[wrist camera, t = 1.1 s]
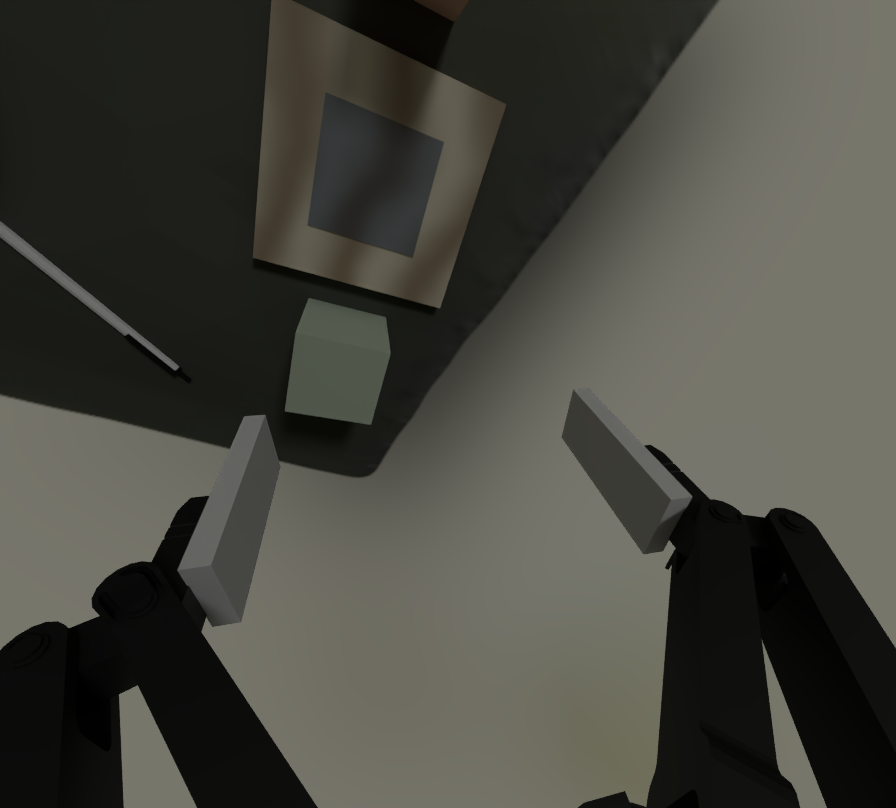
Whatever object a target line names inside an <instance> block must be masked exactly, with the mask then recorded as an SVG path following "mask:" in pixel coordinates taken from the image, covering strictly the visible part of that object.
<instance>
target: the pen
mask: <svg viewBox="0 0 896 808" xmlns="http://www.w3.org/2000/svg"><path fill="white" fill-rule="evenodd" d="M0 238H2V239H3V240H4V241H5V242H7V243H8V244H9V245H10V246H12V247H13V248H14V249H15V250H17V251H18V252H19V253H20V254H22V255H23V256H24V257H26V258H27V259H28V260H29V261H31V262H32V263H33V264H34V265H36V266H37V267H38V268H39V269H41V270H42V271H43V272H44V273H46V274H47V275H48V276H50V277H51V278H52V279H53V280H55V281H56V282H57V283H58V284H60V285H61V286H62V287H63V288H65V289H66V290H67V291H69V292H70V293H71V294H72V295H74V296H75V297H76V298H77V299H79V300H80V301H81V302H82V303H84V304H85V305H86V306H87V307H89V308H90V309H91V310H93V311H94V312H95V313H96V314H98V315H99V316H100V317H101V318H103V319H104V320H105V321H106V322H108V323H109V324H110V325H112V326H113V327H114V328H115V329H117V330H118V331H119V332H120V333H122V334H123V335H124V337H125V338H126V339H127V340H129V341H130V342H131V343H133V344H134V345H135V346H136V347H138V348H139V349H140V350H141V351H143V352H144V353H145V354H147V355H148V356H149V357H150V358H152V359H153V360H154V361H155V362H157V363H158V364H159V365H161V366H162V367H163V368H164V369H166V370H167V371H168V372H169V373H171V374H172V375H175V374H176V373H177V374H178V375H179V376H181V377H182V378H183V379H184V380H186V381H187V382H189V381H191V379H190V378H189V377H188V376H186V375H185V374H184V373H183V372H182V371H180V370H181V367H179V366H178V365H177V364H176V363H174V362H173V361H172V360H171V359H169V358H168V357H167V356H166V355H165V354H163V353H162V352H161V351H160V350H158V349H157V348H156V347H155V346H153V345H152V344H151V343H150V342H149V341H147V340H146V339H145V338H144V337H142V336H141V335H140V334H139V333H137V332H136V331H135V330H134V329H133V328H131V327H130V326H129V325H128V324H126V323H125V322H124V321H123V320H121V319H120V318H119V317H118V316H117V315H115V314H114V313H113V312H112V311H110V310H109V309H108V308H107V307H105V306H104V305H103V304H102V303H101V302H99V301H98V300H97V299H96V298H94V297H93V296H92V295H91V294H89V293H88V292H87V291H86V290H85V289H83V288H82V287H81V286H80V285H78V284H77V283H76V282H75V281H73V280H72V279H71V278H70V277H69V276H67V275H66V274H65V273H64V272H62V271H61V270H60V269H59V268H57V267H56V266H55V265H54V264H53V263H51V262H50V261H49V260H48V259H46V258H45V257H44V256H43V255H41V254H40V253H39V252H38V251H36V250H35V249H34V248H33V247H32V246H30V245H29V244H28V243H27V242H25V241H24V240H23V239H22V238H20V237H19V236H18V235H17V234H16V233H14V232H13V231H12V230H11V229H9V228H8V227H7V226H6V225H4V224H3V223H2V222H1V221H0Z"/></svg>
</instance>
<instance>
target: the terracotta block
mask: <svg viewBox="0 0 896 808" xmlns="http://www.w3.org/2000/svg"><path fill="white" fill-rule="evenodd" d="M414 1H416V2H418V3H419V4H421V5H423V6H425V7H427V8H429V9H431V10H432V11H434V12H436V13H438V14H440V15H442V16H444V17H445V18H447V19H449V20H451V21H453V22H454V21H455V20H456V18H457V17H458V15H459V14H460V13H461V11H462V10H463V8H464V7H465V5H466V4H467V2H468V1H469V0H414Z"/></svg>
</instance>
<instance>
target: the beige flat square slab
mask: <svg viewBox="0 0 896 808" xmlns="http://www.w3.org/2000/svg"><path fill="white" fill-rule="evenodd" d="M505 107H506V104H504V103H502V102H500V101H498V100H496V99H494V98H492V97H490V96H488V95H486V94H484V93H482V92H480V91H478V90H475V89H473V88H471V87H469V86H467V85H465V84H463V83H461V82H459V81H457V80H455V79H453V78H451V77H449V76H447V75H445V74H442V73H440V72H438V71H436V70H434V69H432V68H430V67H428V66H426V65H424V64H422V63H420V62H418V61H416V60H414V59H411V58H409V57H407V56H405V55H403V54H401V53H399V52H397V51H395V50H393V49H391V48H389V47H387V46H385V45H383V44H381V43H378V42H376V41H374V40H372V39H370V38H368V37H366V36H364V35H362V34H360V33H358V32H356V31H354V30H352V29H350V28H348V27H345V26H343V25H341V24H339V23H337V22H335V21H333V20H331V19H329V18H327V17H325V16H323V15H321V14H319V13H317V12H315V11H312V10H310V9H308V8H306V7H304V6H302V5H300V4H298V3H296V2H294V1H292V0H272V2H271V16H270V30H269V43H268V57H267V71H266V84H265V98H264V112H263V126H262V139H261V153H260V167H259V180H258V194H257V208H256V221H255V235H254V249H253V258H256V259H260V260H263V261H267V262H271V263H274V264H278V265H282V266H285V267H289V268H293V269H296V270H300V271H304V272H308V273H311V274H315V275H319V276H322V277H326V278H330V279H333V280H337V281H341V282H344V283H348V284H352V285H355V286H359V287H363V288H366V289H370V290H374V291H378V292H381V293H385V294H389V295H392V296H396V297H400V298H403V299H407V300H411V301H414V302H418V303H422V304H425V305H429V306H433V307H437V308H440V306H441V303H442V300H443V297H444V294H445V291H446V288H447V285H448V282H449V279H450V276H451V273H452V270H453V267H454V263H455V260H456V257H457V254H458V251H459V248H460V245H461V242H462V239H463V236H464V233H465V230H466V227H467V224H468V220H469V217H470V214H471V211H472V208H473V205H474V202H475V199H476V196H477V193H478V190H479V187H480V184H481V181H482V177H483V174H484V171H485V168H486V165H487V162H488V159H489V156H490V153H491V150H492V147H493V144H494V141H495V138H496V134H497V131H498V128H499V125H500V122H501V119H502V116H503V113H504V110H505Z"/></svg>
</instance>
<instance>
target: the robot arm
mask: <svg viewBox="0 0 896 808" xmlns="http://www.w3.org/2000/svg"><path fill="white" fill-rule="evenodd" d="M562 438H563V440H564V441H565V443H566V444H567V446H568V447H569V448H570V450H571V451H572V453H573V454H574V455H575V457H576V458H577V460H578V461H579V463H580V464H581V466H582V467H583V468H584V470H585V471H586V473H587V474H588V476H589V477H590V478H591V480H592V481H593V483H594V484H595V486H596V487H597V488H598V490H599V491H600V493H601V494H602V496H603V497H604V499H605V500H606V501H607V503H608V504H609V506H610V507H611V508H612V510H613V511H614V513H615V514H616V516H617V517H618V518H619V520H620V521H621V523H622V524H623V526H624V527H625V528H626V530H627V531H628V533H629V534H630V536H631V537H632V539H633V540H634V541H635V543H636V544H637V546H638V547H639V548H640V550H641V551H642V553H643V554H648V553H654V552H660V551H663V550H664V548H665V546H666V545H667V543H668V541H669V540H670V541H671V543H672V544H673V545H674V546H675V548H676V549H675V550H674V552H673V554H672V556H671V557H670V559H669V561H668V563H667V565H666V567H665V568H666V569H669V568H670V566H671V565H672V569H671V582H670V595H669V609H668V622H667V636H666V649H665V662H664V675H663V689H662V702H661V715H660V729H659V742H658V756H657V765H656V770H655V774H654V776H653V779H652V782H651V785H650V789H649V793H648V799H647V807H644V806H641V805H638V804H635V803H630V802H629V800H628V797H627V795H626V793H625V791H624V792H620V793H617V794H614V795H610V796H606V797H603V798H599V799H596V800H592V801H589V802H585V803H583V804H582V805H581V806H579V807H578V808H800V806H799V801H798V798H797V793H796V792H795V790H794V788H793V786H792V784H791V783H790V782H789V781H788V780H787V779H786V778H784V777H783V776H782V775H781V773H780V771H779V769H778V765H777V760H776V752H775V744H774V735H773V728H772V719H771V711H770V703H769V695H768V688H767V679H766V671H765V664H764V655H763V647H762V641H763V643H764V646H765V649H766V651H767V654H768V656H769V659H770V662H771V664H772V666H773V669H774V672H775V674H776V677H777V680H778V682H779V685H780V687H781V690H782V693H783V695H784V698H785V700H786V703H787V705H788V708H789V711H790V713H791V716H792V718H793V721H794V724H795V726H796V729H797V731H798V734H799V736H800V739H801V742H802V744H803V747H804V749H805V752H806V754H807V757H808V760H809V762H810V765H811V767H812V770H813V773H814V775H815V778H816V780H817V783H818V785H819V788H820V791H821V793H822V796H823V798H824V801H825V804H826V806H827V808H896V648H895V647H894V645H893V644H892V642H891V640H890V639H889V637H888V636H887V634H886V633H885V631H884V630H883V628H882V627H881V625H880V624H879V622H878V620H877V619H876V617H875V616H874V614H873V613H872V611H871V610H870V608H869V607H868V605H867V604H866V602H865V601H864V599H863V598H862V596H861V594H860V593H859V591H858V590H857V588H856V587H855V585H854V584H853V582H852V581H851V579H850V577H849V576H848V574H847V573H846V571H845V570H844V568H843V567H842V565H841V564H840V562H839V561H838V559H837V558H836V556H835V554H834V553H833V552H832V550H831V548H830V547H829V545H828V544H827V542H826V541H825V539H824V538H823V536H822V535H821V533H820V532H819V530H818V528H817V527H816V526H815V525H814V524H813V523H812V522H811V521H810V520H808V519H807V518H806V517H804V516H802V515H801V514H798V513H796V512H794V511H791V510H788V509H785V508H774V509H771V510H770V512H769V513H768V514H767V516H766V517H765V518H763V517H756V516H748V515H742V513H741V512H740V511H739V510H737V509H736V508H734V507H733V506H731V505H729V504H727V503H725V502H723V501H718V500H710V499H709V498H708V497H707V496H706V495H705V494H704V493H703V492H702V491H701V490H700V489H699V488H698V487H697V486H696V485H695V484H694V483H693V482H692V481H691V480H690V479H689V478H688V477H687V476H686V475H685V474H684V473H683V472H681V471H680V469H679V468H678V467H677V466H676V465H675V464H673V462H672V461H671V460H670V459H669V458H668V457H667V456H666V455H665V454H664V453H663V452H661V451H660V450H658V449H656V448H654V447H653V446H651V445H645V446H643V444H642V443H641V442H640V441H639V440H638V439H637V438H636V437H635V436H634V435H633V434H632V433H631V432H630V431H629V430H628V429H627V428H626V427H625V425H623V423H622V422H621V421H620V420H619V419H618V418H617V417H616V416H615V415H614V414H613V413H612V412H611V411H610V410H609V409H608V408H607V407H606V406H605V405H604V404H603V403H602V401H601V400H600V399H599V398H598V397H597V396H596V395H595V394H594V393H593V392H592V391H591V390H590V389H589V388H587V389H575V390H573V393H572V397H571V401H570V405H569V410H568V414H567V418H566V422H565V426H564V430H563V434H562ZM279 470H280V464H279V461H278V457H277V454H276V450H275V447H274V444H273V440H272V437H271V433H270V430H269V426H268V423H267V420H266V416H265V415H257V416H245V417H244V418H243V420H242V423H241V425H240V427H239V430H238V432H237V434H236V437H235V439H234V441H233V443H232V446H231V448H230V450H229V453H228V455H227V457H226V459H225V462H224V464H223V466H222V469H221V471H220V473H219V476H218V478H217V480H216V482H215V485H214V487H213V489H212V492H211V494H210V496H204V497H195V498H190V499H189V500H188V501H187V502H186V503H185V504H184V505H183V506H182V507H181V508H180V509H179V510H178V511H177V513H176V515H175V517H174V519H173V521H172V523H171V525H170V528H169V529H168V531H167V533H166V534H165V539H164V540H162V542H161V545H160V547H159V548H158V550H157V552H156V554H155V556H154V558H153V560H152V562H142V561H141V562H137V563H132V564H129V565H127V566H125V567H122V568H120V569H118V570H117V571H115V572H114V573H113V574H111V575H110V576H108V577H107V578H106V579H105V580H104V581H103V582H102V583H101V584H100V585H99V586H98V587H97V588H96V591H95V593H94V595H93V597H92V608H93V609H94V610H95V611H96V612H97V613H98V614H99V615H100V616H99V617H96V618H94V619H91V620H89V621H86V622H84V623H81V624H79V625H76V626H74V627H72V628H68V627H67V626H65V625H64V624H62V623H60V622H58V621H57V622H45V623H42V624H39V625H36V626H33V627H31V628H29V629H28V630H26V631H24V632H22V633H21V634H19V635H18V636H16V637H15V638H14V639H13V640H11V641H10V642H9V643H7V644H6V645H5V646H4V647H3V648H2V649H1V650H0V808H124V806H123V783H122V761H121V735H120V711H119V694H120V693H122V692H125V691H127V690H129V689H131V688H133V687H135V686H137V685H138V686H139V689H140V691H141V693H142V695H143V697H144V699H145V701H146V703H147V705H148V707H149V709H150V711H151V713H152V715H153V717H154V719H155V721H156V724H157V726H158V728H159V730H160V732H161V734H162V736H163V738H164V740H165V742H166V744H167V746H168V748H169V750H170V753H171V755H172V757H173V759H174V761H175V763H176V765H177V767H178V769H179V771H180V773H181V775H182V777H183V779H184V781H185V784H186V786H187V787H188V790H189V792H190V794H191V796H192V798H193V800H194V802H195V804H196V806H197V808H318V807H317V806H316V805H315V803H314V801H313V800H312V798H311V797H310V795H309V794H308V792H307V791H306V789H305V788H304V786H303V785H302V784H301V782H300V780H299V779H298V777H297V776H296V774H295V773H294V771H293V770H292V768H291V767H290V765H289V764H288V762H287V761H286V759H285V758H284V756H283V755H282V753H281V752H280V750H279V749H278V747H277V746H276V744H275V743H274V741H273V740H272V738H271V737H270V735H269V734H268V732H267V731H266V729H265V728H264V726H263V725H262V723H261V722H260V720H259V719H258V717H257V716H256V714H255V712H254V711H253V709H252V708H251V707H250V705H249V704H248V702H247V701H246V699H245V697H244V696H243V694H242V693H241V691H240V690H239V688H238V687H237V685H236V684H235V682H234V681H233V679H232V678H231V676H230V675H229V673H228V672H227V670H226V669H225V667H224V666H223V664H222V663H221V661H220V660H219V658H218V657H217V655H216V654H215V652H214V651H213V649H212V648H211V646H210V645H209V643H208V642H207V640H206V639H205V637H204V636H203V634H202V633H201V631H202V628H203V625H204V622H205V619H206V617H207V619H208V620H209V622H210V624H211V625H212V627H214V626H220V625H226V624H232V623H238V622H241V620H242V616H243V612H244V608H245V604H246V600H247V596H248V593H249V588H250V585H251V581H252V576H253V573H254V569H255V565H256V560H257V557H258V553H259V549H260V545H261V541H262V537H263V533H264V529H265V525H266V521H267V517H268V513H269V510H270V506H271V502H272V498H273V494H274V490H275V486H276V481H277V478H278V474H279ZM761 638H762V639H761Z"/></svg>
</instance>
